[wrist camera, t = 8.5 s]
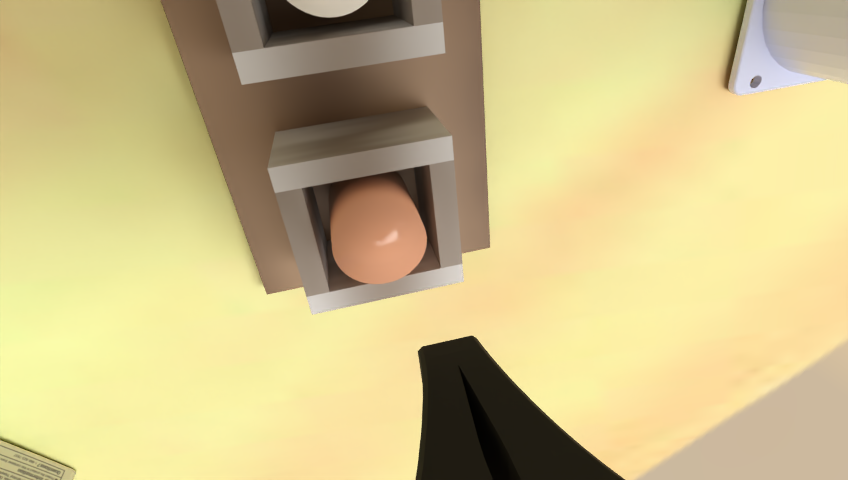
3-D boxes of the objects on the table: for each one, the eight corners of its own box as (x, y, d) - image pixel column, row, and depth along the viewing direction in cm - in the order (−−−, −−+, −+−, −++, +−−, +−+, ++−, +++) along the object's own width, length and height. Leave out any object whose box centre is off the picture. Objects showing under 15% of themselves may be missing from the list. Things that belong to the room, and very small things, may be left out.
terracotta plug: (402, 155, 17) (421, 193, 14) (412, 226, 19) (431, 273, 16) (320, 170, 17) (322, 212, 14) (337, 241, 18) (342, 292, 15)
